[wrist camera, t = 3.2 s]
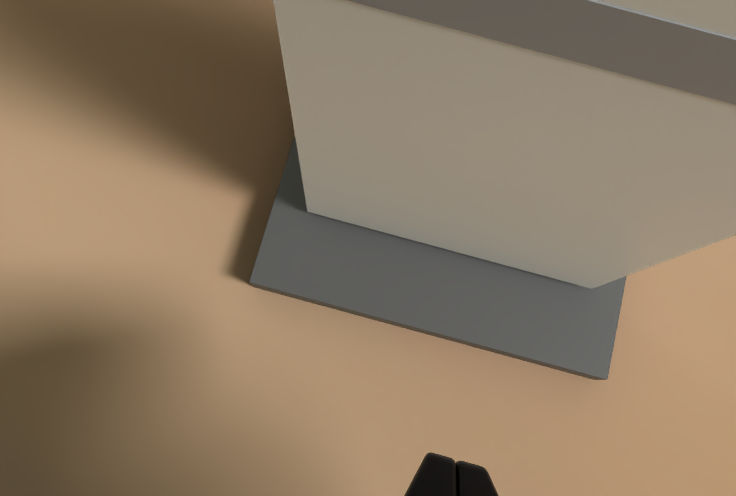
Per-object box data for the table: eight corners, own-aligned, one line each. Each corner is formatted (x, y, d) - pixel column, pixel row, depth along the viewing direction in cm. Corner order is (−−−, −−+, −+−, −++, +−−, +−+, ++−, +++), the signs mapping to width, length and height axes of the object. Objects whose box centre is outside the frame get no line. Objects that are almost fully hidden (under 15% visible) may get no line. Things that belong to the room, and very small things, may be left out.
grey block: (804, 436, 17) (1325, 495, 8) (46, 230, 17) (-271, 62, 8) (859, -21, 20) (1289, -353, 11) (208, -195, 20) (105, -665, 11)
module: (592, 289, 16) (1924, -201, 3) (306, 212, 16) (158, -669, 3) (621, 138, 17) (1743, -822, 3) (349, 66, 17) (405, -1171, 3)
